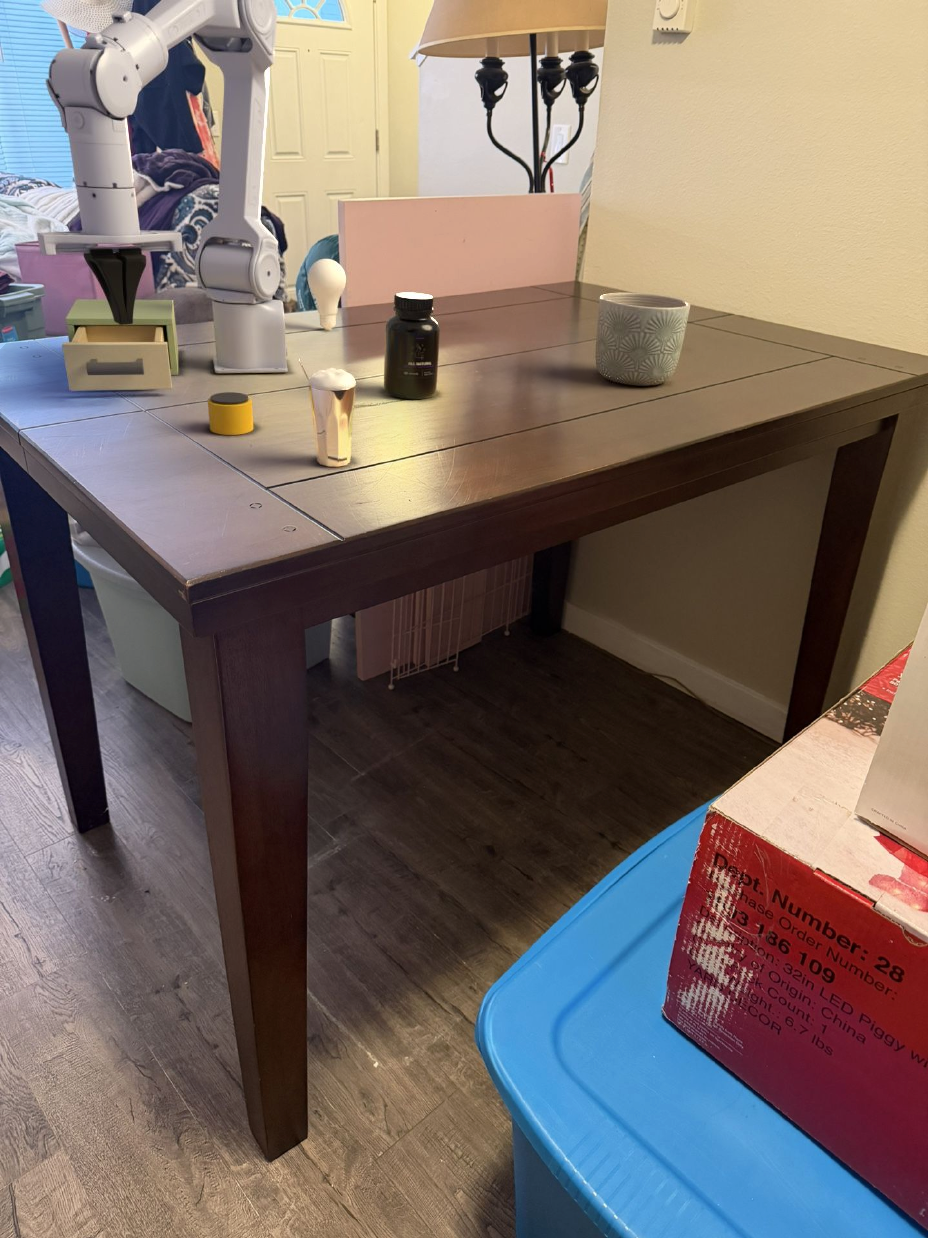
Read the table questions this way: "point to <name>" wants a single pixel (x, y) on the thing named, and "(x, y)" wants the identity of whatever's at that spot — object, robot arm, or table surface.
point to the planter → (639, 337)
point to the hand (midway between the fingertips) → (123, 322)
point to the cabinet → (142, 315)
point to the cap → (230, 413)
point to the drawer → (117, 358)
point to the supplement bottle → (411, 348)
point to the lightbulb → (327, 289)
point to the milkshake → (332, 414)
